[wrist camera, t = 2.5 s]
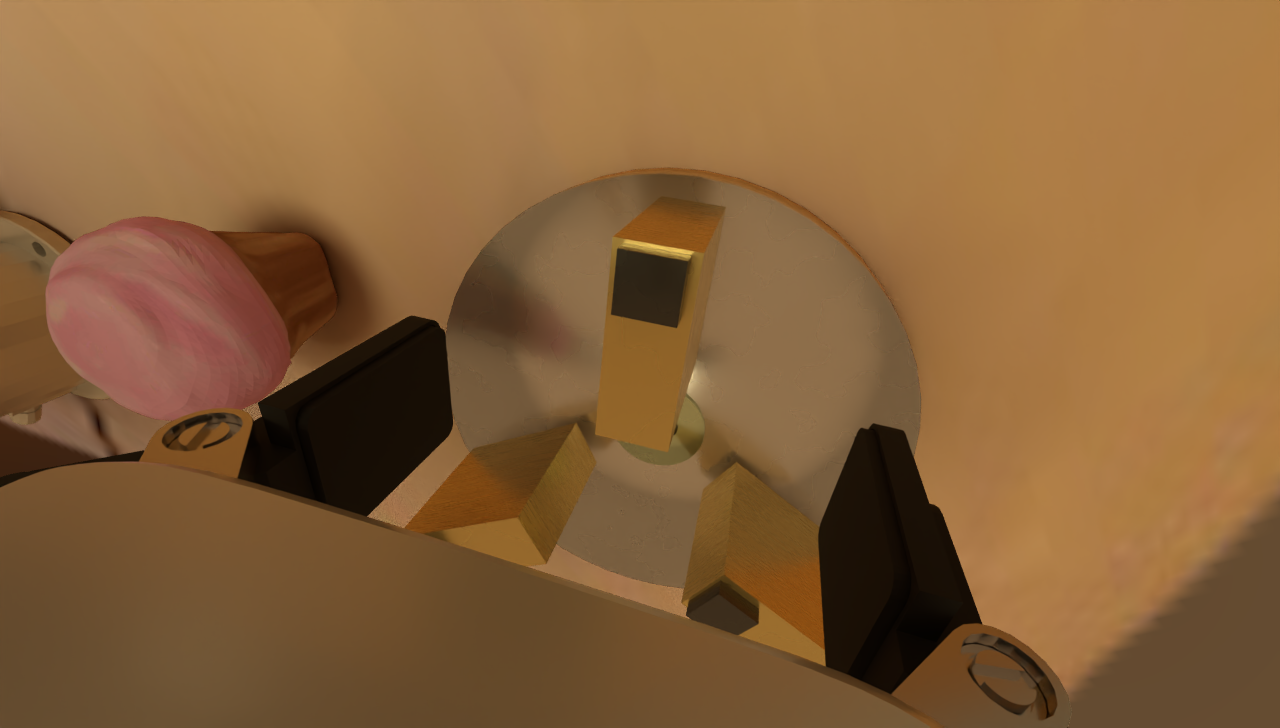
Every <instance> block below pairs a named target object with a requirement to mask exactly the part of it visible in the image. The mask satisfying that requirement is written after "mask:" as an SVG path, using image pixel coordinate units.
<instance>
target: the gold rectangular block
mask: <svg viewBox="0 0 1280 728" xmlns="http://www.w3.org/2000/svg"><path fill="white" fill-rule="evenodd" d="M725 210H726V207H724V206H718V205H712V204H706V203H700V202H694V201H688V200H682V199H676V198H670V197H664V196H661V197H660V198H658V199H657V200H656V201H655V202H654V203H652V204H651V205H650V206H649V207H648V208H646V209H645V210H644V211H643V212H642V213H640V214H639V215H638V216H637V217H636V218H634V219H633V220H632V221H631V222H630V223H628V224H627V225H626V226H625V227H624V228H622V229H621V230H620V231H619V232H618V233H616V234H615V235H614V236H613V239H612V250H611V261H610V272H609V283H608V295H607V306H606V317H605V328H604V340H603V351H602V362H601V373H600V384H599V396H598V407H597V418H596V429H595V435H599V436H603V437H607V438H611V439H615V440H619V441H623V442H627V443H632V444H636V445H640V446H644V447H648V448H652V449H656V450H660V451H664V452H668V451H669V448H670V445H671V441H672V438H673V435H674V432H675V428H676V425H677V422H678V419H679V415H680V412H681V409H682V406H683V402H684V399H685V396H686V393H687V389H688V386H689V383H690V380H691V376H692V373H693V370H694V367H695V363H696V360H697V354H698V349H699V344H700V339H701V334H702V329H703V323H704V318H705V313H706V308H707V303H708V298H709V292H710V287H711V282H712V277H713V272H714V267H715V262H716V256H717V251H718V246H719V241H720V236H721V231H722V225H723V220H724V215H725Z"/></svg>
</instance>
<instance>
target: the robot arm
mask: <svg viewBox="0 0 1280 728" xmlns="http://www.w3.org/2000/svg"><path fill="white" fill-rule="evenodd" d="M70 245H71V244H70V243H69V242H67V241H66V240H65V239H63V238H62V237H61V236H59V235H58V234H57V233H55V232H54V231H52V230H50V229H48V228H47V227H45V226H43V225H42V224H40V223H38V222H36V221H34V220H32V219H29V218H27V217H24V216H22V215H20V214H16V213H12V212H7V211H2V210H0V417H2V416H5V415H7V414H8V415H9V416H10V418H11V420H12V421H13V422H14V423H17V424H22V425H28V424H32V423H36V422H37V421H39V420H40V419H41V416H42V404H44V403H46V402H48V401H51V400H53V399H56V398H58V397H60V396H63V395H65V394H68V393H72V394H75V395H78V396H82V397H85V398H89V399H99V400H104V399H110V397H109V396H108V395H107V394H106V393H105V392H104V391H103V390H102V389H100V388H99V387H97V386H96V385H94V384H92V383H91V382H89V381H87V380H86V379H84V378H83V377H81V376H80V375H79V374H78V373H77V372H76V371H75V370H74V369H73V368H72V367H71V366H70V365H69V364H68V363H67V362H66V361H65V359H64V358H63V357H62V355H61V354H60V352H59V350H58V348H57V347H56V345H55V343H54V342H53V340H52V338H51V335H50V332H49V329H48V324H47V317H46V296H45V293H46V286H47V284H48V281H49V276H50V270H51V267H52V266H53V264H54V262H55V260H56V259H57V257H58V256H60V255H61V254H62V253H63V252H64V251H65V250H67V249H68V248H69V246H70ZM258 405H259V408H260V411H261V414H262V417H260V418H259V419H257V420H255V421H253V418H252V417H251V416H250V415H249V413H248V412H245V411H243V410H240V409H234V408H214V409H208V410H202V411H197V412H194V413H191V414H188V415H185V416H182V417H180V418H178V419H175V420H173V421H171V422H169V423H168V424H166V425H165V426H163V427H162V428H160V429H159V430H158V431H157V432H156V433H155V434H154V435H153V437H152V438H151V440H150V441H149V443H148V445H147V447H146V449H145V450H144V451H138V452H133V453H127V454H122V455H116V456H111V457H105V458H100V459H94V460H89V461H83V462H78V463H73V464H67V465H62V466H56V467H51V468H45V469H40V470H34V471H30V472H20V473H15V474H10V475H6V476H3V477H0V728H1068V725H1069V722H1070V717H1071V713H1072V710H1071V706H1070V701H1069V697H1068V694H1067V692H1066V691H1065V689H1064V687H1063V685H1062V683H1061V681H1060V679H1059V678H1058V677H1057V675H1056V674H1055V673H1054V672H1053V670H1052V669H1051V668H1050V667H1049V666H1048V664H1047V663H1046V662H1045V661H1044V660H1043V659H1042V658H1041V657H1040V656H1038V655H1037V654H1036V653H1035V652H1034V651H1033V650H1032V649H1031V648H1030V647H1028V646H1027V645H1025V644H1024V643H1022V642H1021V641H1019V640H1018V639H1016V638H1015V637H1013V636H1012V635H1010V634H1008V633H1005V632H1003V631H1001V630H999V629H997V628H994V627H991V626H987V625H982V622H981V619H980V616H979V614H978V611H977V608H976V605H975V603H974V600H973V597H972V594H971V592H970V589H969V586H968V583H967V580H966V578H965V575H964V572H963V569H962V567H961V564H960V561H959V558H958V556H957V553H956V550H955V547H954V545H953V542H952V539H951V536H950V534H949V531H948V528H947V525H946V523H945V520H944V517H943V514H942V513H941V511H940V509H939V508H938V507H937V506H935V505H933V504H929V501H928V498H927V495H926V492H925V489H924V486H923V484H922V481H921V478H920V475H919V472H918V469H917V466H916V463H915V460H914V457H913V454H912V451H911V448H910V445H909V442H908V439H907V436H906V434H905V432H904V431H903V430H901V429H896V428H892V427H888V426H883V425H879V424H875V423H873V424H872V425H871V426H870V427H869V429H865V428H860V429H859V430H858V432H857V434H856V437H855V439H854V442H853V444H852V447H851V449H850V452H849V454H848V457H847V459H846V461H845V464H844V466H843V469H842V471H841V474H840V476H839V479H838V481H837V484H836V486H835V488H834V491H833V493H832V496H831V498H830V501H829V503H828V506H827V508H826V511H825V513H824V516H823V518H822V520H821V523H820V527H819V533H818V548H819V564H820V581H821V597H822V614H823V631H824V647H825V664H826V666H823V665H821V664H818V663H815V662H813V661H810V660H808V659H805V658H802V657H800V656H797V655H794V654H791V653H788V652H785V651H782V650H779V649H777V648H774V647H771V646H768V645H765V644H762V643H759V642H756V641H753V640H750V639H747V638H744V637H741V636H738V635H735V634H732V633H729V632H727V631H724V630H721V629H718V628H715V627H712V626H709V625H706V624H703V623H700V622H697V621H694V620H690V619H687V618H684V617H681V616H678V615H675V614H672V613H669V612H666V611H663V610H659V609H656V608H653V607H650V606H647V605H644V604H641V603H638V602H635V601H632V600H628V599H625V598H622V597H619V596H616V595H613V594H610V593H607V592H604V591H601V590H598V589H594V588H591V587H588V586H585V585H582V584H579V583H576V582H573V581H570V580H566V579H563V578H560V577H557V576H554V575H551V574H548V573H544V572H541V571H538V570H535V569H532V568H529V567H525V566H522V565H519V564H516V563H513V562H510V561H507V560H503V559H500V558H497V557H494V556H491V555H488V554H484V553H481V552H478V551H475V550H472V549H469V548H465V547H462V546H459V545H456V544H453V543H450V542H446V541H443V540H440V539H437V538H434V537H431V536H427V535H424V534H421V533H418V532H415V531H411V530H408V529H405V528H402V527H398V526H395V525H392V524H389V523H385V522H382V521H379V520H376V519H373V518H369V517H367V516H368V515H369V514H370V513H371V512H372V511H373V510H374V509H375V508H376V507H377V506H378V505H379V504H380V503H381V502H382V501H383V500H384V499H385V498H386V497H387V496H388V495H389V494H390V493H391V492H392V491H393V490H394V489H395V488H396V487H397V486H398V485H399V484H400V483H401V482H402V481H403V480H404V479H405V478H406V477H407V476H408V475H409V474H410V473H411V472H412V471H414V470H415V469H416V468H417V467H418V466H419V465H420V464H421V463H422V462H423V461H424V460H425V459H426V458H427V457H428V456H429V455H430V454H431V453H432V452H433V451H434V450H435V449H436V448H437V447H438V446H439V445H440V444H441V443H442V442H443V441H444V440H445V439H446V438H447V437H448V436H449V434H450V432H451V430H452V426H453V416H452V405H451V393H450V381H449V370H448V358H447V346H446V335H445V332H444V330H443V329H441V328H440V326H439V324H438V323H437V322H436V321H434V320H430V319H425V318H421V317H417V316H409V317H407V318H405V319H403V320H402V321H400V322H398V323H396V324H395V325H393V326H391V327H389V328H388V329H386V330H384V331H382V332H381V333H379V334H377V335H375V336H374V337H372V338H370V339H368V340H367V341H365V342H363V343H361V344H360V345H358V346H356V347H354V348H353V349H351V350H349V351H347V352H346V353H344V354H342V355H340V356H339V357H337V358H335V359H333V360H332V361H330V362H328V363H326V364H325V365H323V366H321V367H319V368H318V369H316V370H314V371H312V372H311V373H309V374H307V375H305V376H304V377H302V378H300V379H298V380H297V381H295V382H293V383H291V384H290V385H288V386H286V387H284V388H283V389H281V390H279V391H277V392H276V393H274V394H272V395H270V396H269V397H267V398H265V399H263V400H262V401H260V402H258Z"/></svg>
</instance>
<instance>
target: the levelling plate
mask: <svg viewBox="0 0 1280 728" xmlns="http://www.w3.org/2000/svg"><path fill="white" fill-rule="evenodd" d="M661 196H664V197H670V198H676V199H682V200H688V201H694V202H700V203H706V204H712V205H718V206H724V207H726V210H725V215H724V220H723V225H722V231H721V236H720V241H719V246H718V251H717V256H716V262H715V267H714V272H713V277H712V282H711V287H710V292H709V298H708V303H707V308H706V313H705V318H704V323H703V329H702V334H701V339H700V344H699V349H698V354H697V360H696V363H695V367H694V370H693V373H692V376H691V380H690V383H689V386H688V389H687V393H686V396H685V399H684V402H683V406H682V409H681V412H680V415H679V419H678V422H677V425H676V428H675V432H674V435H673V438H672V441H671V445H670V448H669V451H668V452H664V451H660V450H656V449H652V448H648V447H644V446H640V445H636V444H632V443H627V442H623V441H619V440H615V439H611V438H607V437H603V436H599V435H595V429H596V418H597V407H598V396H599V384H600V373H601V362H602V351H603V340H604V328H605V317H606V306H607V295H608V283H609V272H610V261H611V250H612V239H613V236H614V235H615V234H616V233H618V232H619V231H620V230H621V229H622V228H624V227H625V226H626V225H627V224H628V223H630V222H631V221H632V220H633V219H634V218H636V217H637V216H638V215H639V214H640V213H642V212H643V211H644V210H645V209H646V208H648V207H649V206H650V205H651V204H652V203H654V202H655V201H656V200H657V199H658V198H660V197H661ZM446 346H447V358H448V370H449V381H450V393H451V405H452V411H453V415H454V418H455V422H456V424H457V426H458V429H459V431H460V434H461V436H462V438H463V441H464V443H465V445H466V447H467V449H468V450H469V452H471V451H472V450H473V448H475V447H479V446H483V445H487V444H492V443H496V442H500V441H504V440H508V439H512V438H516V437H520V436H524V435H528V434H533V433H537V432H541V431H545V430H549V429H553V428H557V427H561V426H565V425H569V424H574V423H577V425H578V427H579V429H580V431H581V433H582V435H583V437H584V439H585V440H586V442H587V444H588V446H589V448H590V450H591V452H592V454H593V456H594V458H595V460H596V462H597V463H596V465H595V467H594V469H593V471H592V473H591V475H590V477H589V479H588V481H587V483H586V485H585V487H584V489H583V491H582V493H581V495H580V497H579V499H578V501H577V503H576V505H575V507H574V509H573V511H572V513H571V515H570V517H569V519H568V521H567V523H566V525H565V527H564V529H563V531H562V533H561V535H560V537H559V539H558V541H557V543H556V544H557V545H559V546H560V547H562V548H563V549H565V550H567V551H569V552H571V553H572V554H574V555H576V556H578V557H580V558H582V559H583V560H585V561H587V562H590V563H592V564H594V565H597V566H599V567H601V568H604V569H606V570H608V571H611V572H614V573H617V574H620V575H623V576H626V577H629V578H632V579H636V580H640V581H644V582H648V583H652V584H657V585H663V586H670V587H676V588H684V587H685V582H686V576H687V571H688V566H689V561H690V555H691V550H692V545H693V539H694V534H695V529H696V524H697V518H698V513H699V508H700V502H701V497H702V492H703V489H704V488H705V487H706V486H707V485H709V484H710V483H711V482H712V481H714V480H715V479H716V478H717V477H719V476H720V475H721V474H722V473H723V472H725V471H726V470H727V469H728V468H730V467H731V466H732V465H733V464H735V463H736V462H738V463H739V464H740V465H741V466H743V467H744V468H745V469H747V470H748V471H749V472H750V473H752V474H753V475H754V476H755V477H757V478H758V479H759V480H761V481H762V482H763V483H764V484H766V485H767V486H768V487H769V488H771V489H772V490H773V491H775V492H776V493H777V494H778V495H780V496H781V497H782V498H783V499H785V500H786V501H787V502H788V503H790V504H791V505H792V506H794V507H795V508H796V509H797V510H799V511H800V512H801V513H802V514H804V515H805V516H806V517H808V518H809V519H810V520H811V521H813V522H814V523H815V524H816V525H818V526H819V527H820V523H821V520H822V518H823V516H824V513H825V511H826V508H827V506H828V503H829V501H830V498H831V496H832V493H833V491H834V488H835V486H836V484H837V481H838V479H839V476H840V474H841V471H842V469H843V466H844V464H845V461H846V459H847V457H848V454H849V452H850V449H851V447H852V444H853V442H854V439H855V437H856V434H857V432H858V430H859V429H860V428H865V429H869V427H870V426H871V425H872V424H873V423H875V424H879V425H883V426H888V427H892V428H896V429H901V430H903V431H904V432H905V434H906V436H907V439H908V442H909V445H910V448H911V451H912V454H913V457H914V454H915V449H916V444H917V439H918V434H919V429H920V412H921V393H920V386H919V379H918V372H917V365H916V361H915V358H914V355H913V352H912V349H911V346H910V343H909V339H908V336H907V333H906V331H905V329H904V327H903V325H902V323H901V321H900V319H899V317H898V315H897V313H896V311H895V309H894V307H893V305H892V303H891V302H890V300H889V298H888V296H887V294H886V293H885V291H884V289H883V287H882V286H881V284H880V283H879V281H878V280H877V278H876V277H875V276H874V274H873V273H872V271H871V270H870V269H869V267H868V266H867V265H866V263H865V262H864V260H863V259H862V258H861V256H860V255H859V254H858V253H857V252H856V251H855V250H854V249H853V248H852V247H851V246H850V245H849V244H848V243H847V242H846V241H845V240H844V239H843V238H842V237H841V236H840V235H839V234H838V233H837V232H836V231H835V230H833V229H832V228H831V227H829V226H828V225H827V224H825V223H824V222H823V221H822V220H820V219H819V218H818V217H816V216H815V215H814V214H812V213H811V212H810V211H808V210H807V209H805V208H803V207H801V206H800V205H798V204H796V203H794V202H792V201H791V200H789V199H787V198H785V197H783V196H782V195H780V194H778V193H776V192H774V191H771V190H769V189H766V188H764V187H761V186H758V185H756V184H753V183H750V182H748V181H745V180H743V179H740V178H735V177H731V176H726V175H722V174H718V173H713V172H709V171H704V170H692V169H680V168H653V169H635V170H630V171H625V172H620V173H615V174H610V175H605V176H601V177H598V178H596V179H593V180H590V181H587V182H585V183H582V184H579V185H576V186H574V187H571V188H569V189H566V190H564V191H562V192H559V193H557V194H555V195H553V196H551V197H549V198H547V199H545V200H544V201H542V202H540V203H538V204H536V205H534V206H533V207H531V208H529V209H527V210H525V211H524V212H523V213H522V214H520V215H519V216H518V217H516V218H515V219H514V220H512V221H511V222H510V223H509V224H507V225H506V226H505V227H503V228H502V229H501V230H500V231H499V232H498V233H497V234H496V235H495V236H494V237H493V239H492V240H491V241H490V242H489V243H488V244H487V245H486V246H485V247H484V248H483V249H482V250H481V252H480V253H479V255H478V256H477V258H476V259H475V261H474V262H473V264H472V265H471V267H470V268H469V270H468V271H467V273H466V274H465V277H464V279H463V281H462V283H461V285H460V287H459V290H458V292H457V294H456V296H455V298H454V302H453V305H452V309H451V313H450V316H449V320H448V323H447V331H446Z"/></svg>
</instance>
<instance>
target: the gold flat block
mask: <svg viewBox="0 0 1280 728" xmlns="http://www.w3.org/2000/svg"><path fill="white" fill-rule="evenodd" d="M818 533H819V526H818V525H816V524H815V523H814V522H813V521H811V520H810V519H809V518H808V517H806V516H805V515H804V514H802V513H801V512H800V511H799V510H797V509H796V508H795V507H794V506H792V505H791V504H790V503H788V502H787V501H786V500H785V499H783V498H782V497H781V496H780V495H778V494H777V493H776V492H775V491H773V490H772V489H771V488H769V487H768V486H767V485H766V484H764V483H763V482H762V481H761V480H759V479H758V478H757V477H755V476H754V475H753V474H752V473H750V472H749V471H748V470H747V469H745V468H744V467H743V466H741V465H740V464H739V463H738V462H736V463H735V464H733V465H732V466H731V467H730V468H728V469H727V470H726V471H725V472H723V473H722V474H721V475H720V476H719V477H717V478H716V479H715V480H714V481H712V482H711V483H710V484H709V485H707V486H706V487H705V488H704V489H703V492H702V497H701V502H700V508H699V513H698V518H697V524H696V529H695V534H694V539H693V545H692V550H691V555H690V561H689V566H688V571H687V576H686V582H685V587H684V592H683V598H682V604H683V605H685V606H686V607H687V613H686V616H687V617H689V618H690V619H691V620H694V621H697V622H700V623H703V624H706V625H709V626H712V627H715V628H718V629H721V630H724V631H727V632H729V633H732V634H735V635H738V636H741V637H744V638H747V639H750V640H753V641H756V642H759V643H762V644H765V645H768V646H771V647H774V648H777V649H779V650H782V651H785V652H788V653H791V654H794V655H797V656H800V657H802V658H805V659H808V660H810V661H813V662H815V663H818V664H821V665H823V666H826V664H825V647H824V631H823V614H822V597H821V581H820V564H819V548H818Z"/></svg>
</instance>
